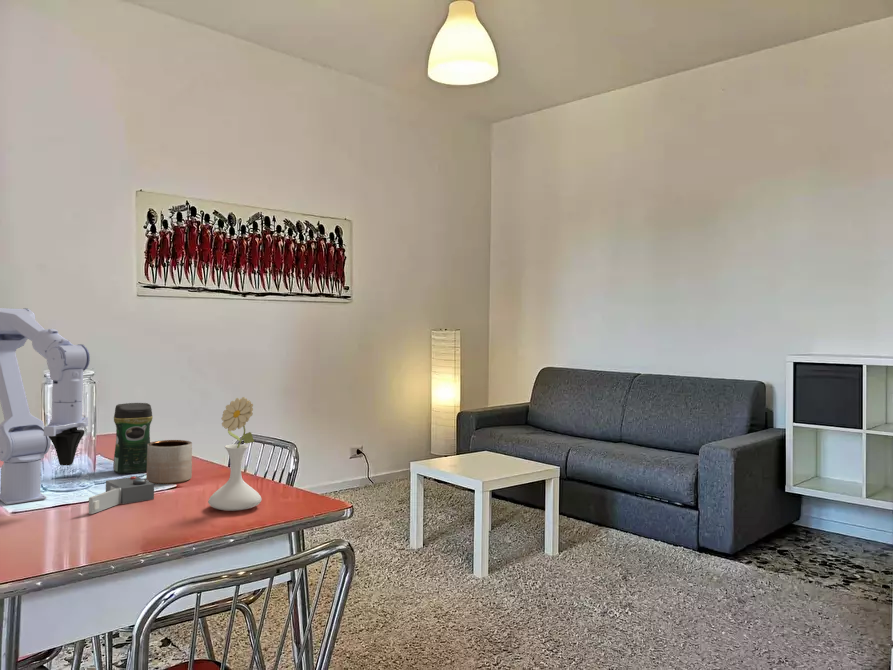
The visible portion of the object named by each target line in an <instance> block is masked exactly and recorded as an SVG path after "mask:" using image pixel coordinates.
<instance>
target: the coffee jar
mask: <svg viewBox="0 0 893 670" xmlns="http://www.w3.org/2000/svg"><path fill="white" fill-rule="evenodd" d="M152 410H153V409H152V405H151V404H150V403H146V402H129V403H127V402H126V403H118V404H116V406H115V409H114V413H113V414H114V416H113V422H114V424H115V427H116V428H115V429H116V431H115V432H116V434H115V447H114V454H113V455H114V456H113V467H112V469H113V472H114V473H115V474H121V475H123V474H125V473H131V474H139V473H138V472H140V473H144V472H146V473H147V447H148V443H151V435H150V433H151V431H150V429H151V428H150V427H151V424H152V422H153V411H152Z"/></svg>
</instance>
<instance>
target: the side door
mask: <svg viewBox="0 0 893 670" xmlns="http://www.w3.org/2000/svg"><path fill="white" fill-rule="evenodd" d="M117 505H121V488H116V489H113V490H110V491H107V492H106V491H105V492H102V493H101V492H100V493H99V494H96V495H93V496H90V497H88V515H94V514H95V513H99V512H101V511H104V510H107V509H109V508H111V507H114V506H117Z"/></svg>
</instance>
